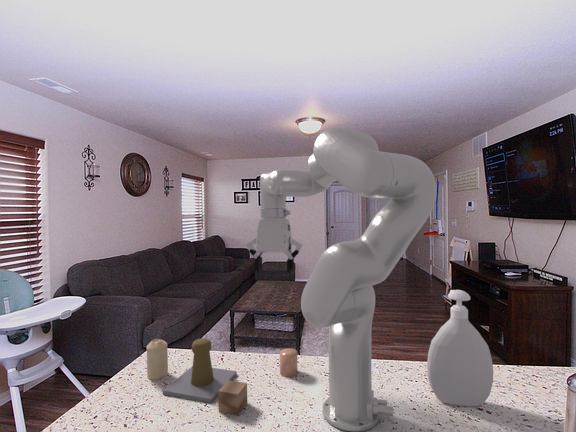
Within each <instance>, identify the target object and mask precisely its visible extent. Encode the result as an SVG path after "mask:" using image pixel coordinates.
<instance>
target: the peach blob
mask: <svg viewBox="0 0 576 432" xmlns="http://www.w3.org/2000/svg"><path fill="white" fill-rule="evenodd" d="M298 371H299V370H298V350H297V349H295V348H289V347H288V348H283V349H281V350H280V352H279V372H280V373H279V374H280V375H281V376H282V377H284V378H294V377H296V376H297V375H298Z"/></svg>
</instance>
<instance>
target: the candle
mask: <svg viewBox="0 0 576 432" xmlns="http://www.w3.org/2000/svg"><path fill="white" fill-rule="evenodd" d="M168 354H169V353H168V343H167V342H166V341H165V340H163V339H160V338H154V339H151V341H150V342H149V343H148V344H147V345H146V368H147V369H146V370H147V371H146V375H147V378H148V379H149V380H159V379H162V378H165V377H166V376H167V375H168V374H169V364H168V363H169V362H168V361H169V360H168V359H169V357H168Z"/></svg>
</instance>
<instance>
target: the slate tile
mask: <svg viewBox="0 0 576 432" xmlns="http://www.w3.org/2000/svg"><path fill="white" fill-rule="evenodd" d="M192 367H193V365H192V366H191V367H190V368H188V369H187V370H186V371H185V372H183V373H182V374H181V375H180V376H178V377H177V378H176V379H175V380H174V381H172V382H171V383H170V384H169V385H167V386H166V387H165V388H164V389H162V395H164V396H165V395H166V396H171V397H175V398H180V399H181V398H182V399H187V400H193V401H197V402H202V403H203V402H204V403H208V404H212V403H213V402H214V401H215V400H216V399H217V397H218V391H219V390H220V389H221V388H222V387H223V386H224V384H225V383H226V382H227V381H228V380H231V381H233V380H234V379H235V377H236V376H237V375H238V374H237V370H231V369H230V370H229V369H222V368H216V367H212V371H213V377H214V380H213V382H212V383H210V384H208V385H206V386H193V385H192V384H191V376H192Z"/></svg>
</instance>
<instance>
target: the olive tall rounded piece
mask: <svg viewBox="0 0 576 432" xmlns="http://www.w3.org/2000/svg"><path fill="white" fill-rule="evenodd" d="M211 350H212V341H211V340H210V339H208V338H204V337H202V338H198V339H195V340H194V341H193V342H192V344H191V351H192V352H191V353H192V354H193V358H192V366H193V367H192V366H191V367H192V376H191V384H192V385H193V386H206V385H208V384H210V383H212V382H213V380H214V377H213V371H212V368H213V365H212V359H211V353H210V352H211Z"/></svg>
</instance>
